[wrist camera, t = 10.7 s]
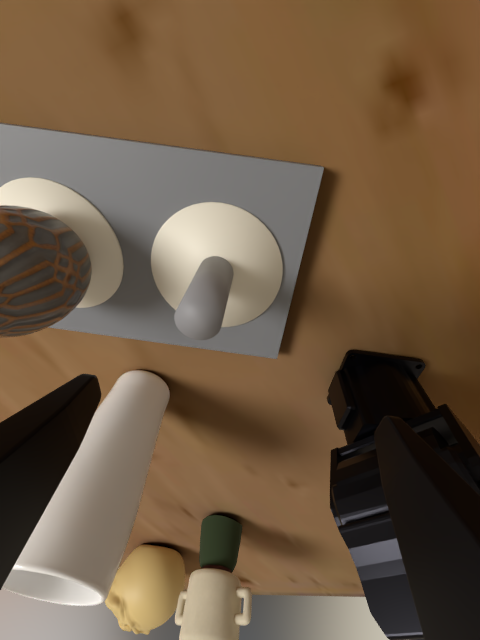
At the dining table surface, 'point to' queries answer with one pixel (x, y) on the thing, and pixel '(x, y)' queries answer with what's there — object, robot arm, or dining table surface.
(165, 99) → the dining table surface
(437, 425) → the robot arm
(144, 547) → the sculpture
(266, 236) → the board
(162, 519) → the dining table surface
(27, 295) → the vase
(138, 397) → the white tapered cylinder
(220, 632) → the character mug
